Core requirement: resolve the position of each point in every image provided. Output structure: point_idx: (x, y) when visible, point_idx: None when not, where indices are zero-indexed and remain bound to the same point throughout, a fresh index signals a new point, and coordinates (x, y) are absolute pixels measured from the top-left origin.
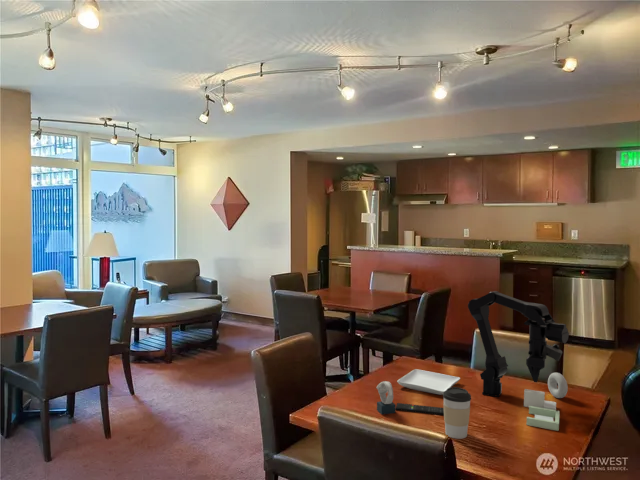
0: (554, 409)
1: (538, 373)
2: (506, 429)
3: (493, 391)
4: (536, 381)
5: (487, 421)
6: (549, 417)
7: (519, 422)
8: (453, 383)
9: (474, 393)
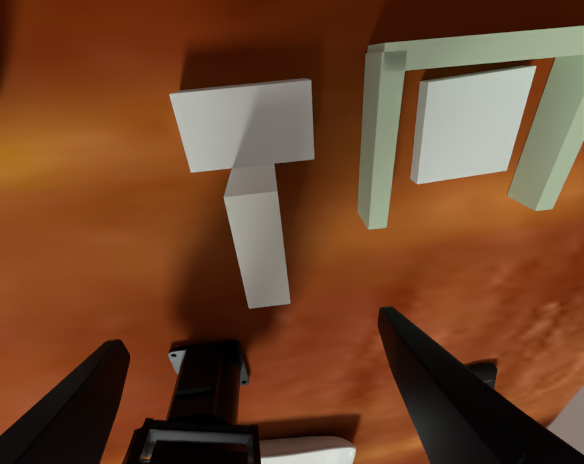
0: (311, 88)
1: (508, 407)
2: (578, 246)
3: (235, 371)
4: (396, 316)
5: (509, 308)
6: (439, 103)
7: (496, 222)
8: (264, 457)
9: (252, 394)
